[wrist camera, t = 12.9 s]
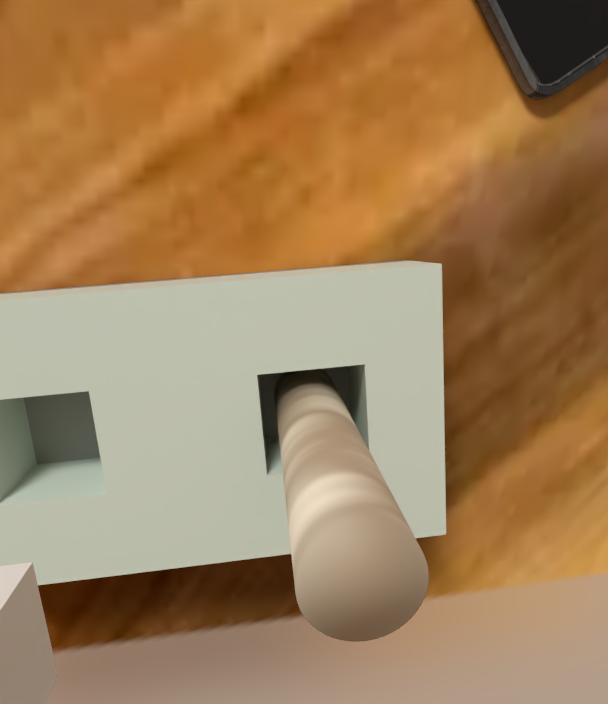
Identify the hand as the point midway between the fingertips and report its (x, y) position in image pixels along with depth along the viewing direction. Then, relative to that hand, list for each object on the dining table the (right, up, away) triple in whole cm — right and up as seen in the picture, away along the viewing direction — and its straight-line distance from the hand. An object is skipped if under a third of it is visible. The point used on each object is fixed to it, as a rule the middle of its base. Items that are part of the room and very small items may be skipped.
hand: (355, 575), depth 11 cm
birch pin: (-1, +3, +14) cm, 14 cm away
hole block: (-7, +2, +14) cm, 16 cm away
